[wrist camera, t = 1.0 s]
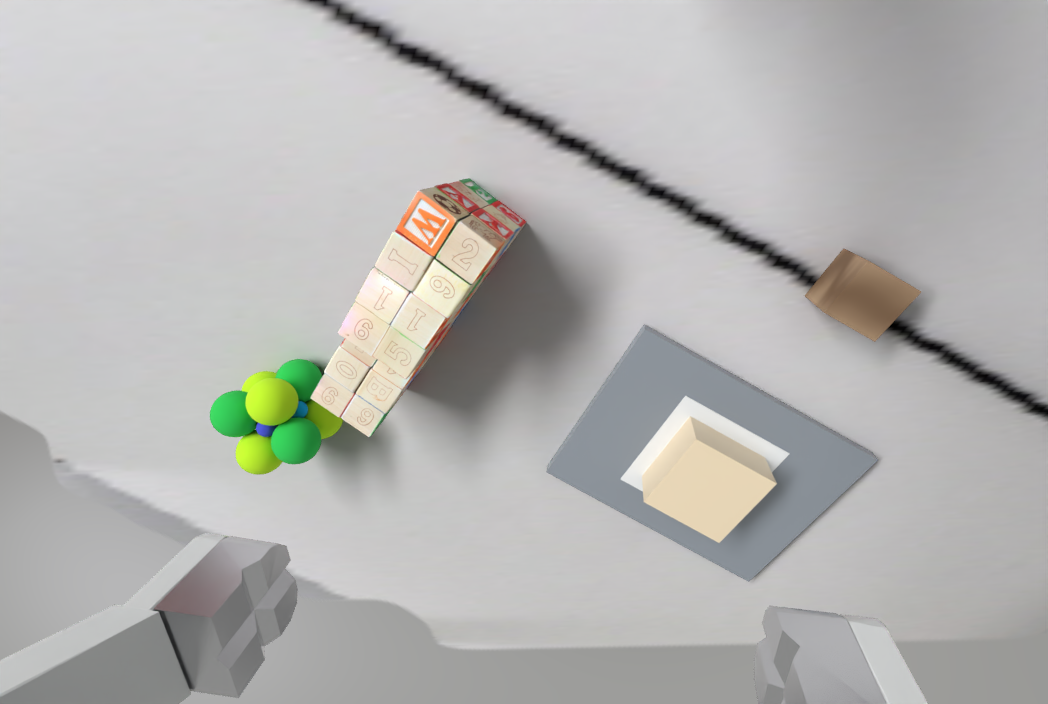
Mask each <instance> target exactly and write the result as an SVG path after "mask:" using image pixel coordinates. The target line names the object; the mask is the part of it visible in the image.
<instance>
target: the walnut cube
mask: <svg viewBox="0 0 1048 704" xmlns="http://www.w3.org/2000/svg"><path fill="white" fill-rule="evenodd" d="M920 293H921V291H919V290H918V289H916V288H914V287H912V286H911V285H909V284H907V283H906V282H904V281H902V280H901V279H899V278H897V277H895V276H894V275H892V274H890V273H889V272H887V271H885V270H883V269H882V268H880V267H878V266H877V265H875V264H873V263H871V262H870V261H868V260H866V259H864V258H862V257H860V256H858V255H856V254H854V253H852V252H850V251H848V250H846V249H843V250H842V251H841V252H840V254H839V255H838V256H837V257H836V258H835V260H834V261H833V262H832V263H831V264H830V266H829V267H828V268H827V269H826V270H825V272H824V273H823V274H822V275H821V277H820V278H819V279H818V280H817V281H816V283H815V284H814V285H813V286H812V287H811V289H810V290H809V291H808V292H807V294H806V295H805V297H807V298H808V299H809V300H810V301H811V302H812V303H814V304H815V305H816V306H817V307H818V308H819V309H821V310H822V311H823V312H824V313H826V314H828V315H829V316H831V317H833V318H835V319H836V320H838V321H840V322H841V323H843V324H845V325H847V326H848V327H850V328H852V329H854V330H855V331H857V332H859V333H861V334H862V335H864V336H866V337H867V338H869V339H871V340H873V341H874V342H875V341H876V340H877V339H878V338H879V337H880V336H881V335H882V334H883V332H884V331H885V330H886V329H887V328H888V327H889V326H890V325H891V324H892V323H893V322H894V321H895V320H896V319H897V318H898V316H899V315H900V314H901V313H902V312H903V311H904V310H905V309H906V308H907V307H908V306H909V305H910V304H911V303H912V301H913V300H914V299H915V298H916V297H917V296H918V295H919V294H920Z"/></svg>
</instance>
